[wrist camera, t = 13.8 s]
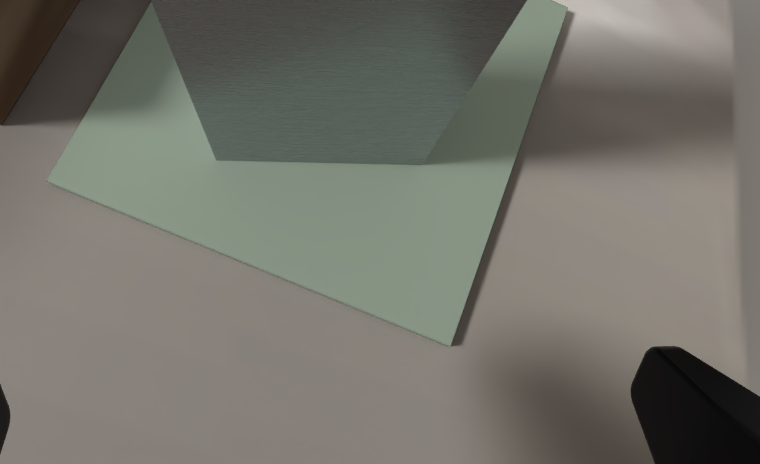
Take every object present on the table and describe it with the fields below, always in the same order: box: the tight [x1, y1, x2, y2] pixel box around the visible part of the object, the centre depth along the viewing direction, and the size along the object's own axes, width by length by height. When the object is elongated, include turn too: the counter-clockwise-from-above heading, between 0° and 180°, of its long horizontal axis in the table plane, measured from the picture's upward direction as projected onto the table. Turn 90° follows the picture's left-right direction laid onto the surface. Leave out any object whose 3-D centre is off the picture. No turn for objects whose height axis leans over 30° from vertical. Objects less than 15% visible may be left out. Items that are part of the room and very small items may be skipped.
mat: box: [47, 0, 568, 346], centre depth 17 cm, size 12×12×1 cm
